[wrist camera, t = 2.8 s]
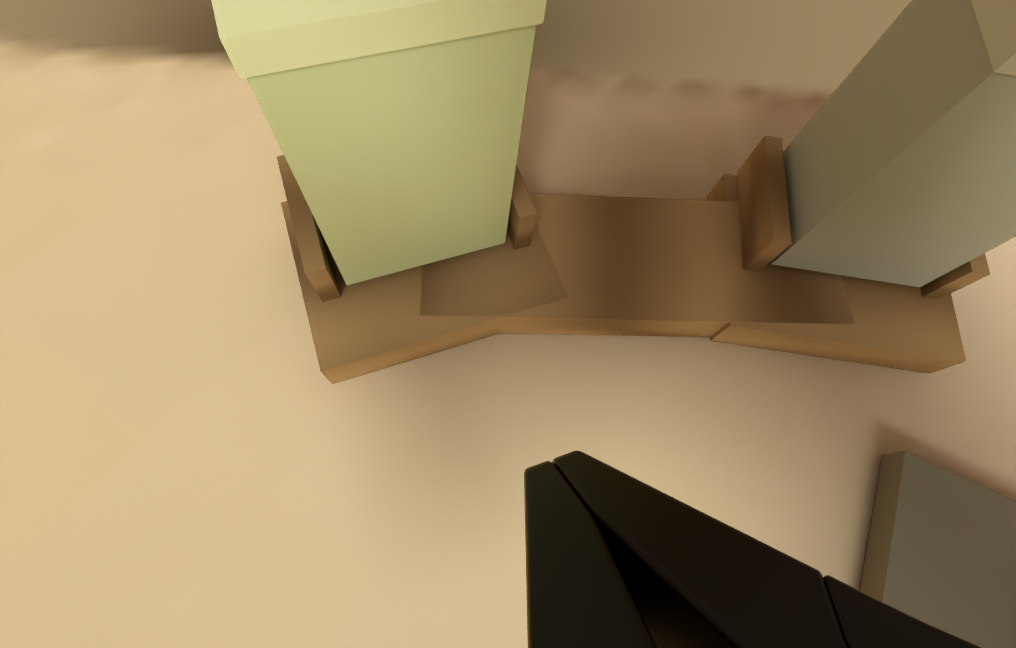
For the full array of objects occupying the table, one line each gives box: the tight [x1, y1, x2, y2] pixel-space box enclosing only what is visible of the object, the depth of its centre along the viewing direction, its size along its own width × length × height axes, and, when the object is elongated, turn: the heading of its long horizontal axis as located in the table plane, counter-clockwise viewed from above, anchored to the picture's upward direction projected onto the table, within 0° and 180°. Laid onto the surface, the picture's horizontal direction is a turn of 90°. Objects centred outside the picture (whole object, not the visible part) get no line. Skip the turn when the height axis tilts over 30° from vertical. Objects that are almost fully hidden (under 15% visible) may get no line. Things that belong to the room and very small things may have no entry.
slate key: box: [771, 0, 1016, 287], centre depth 15 cm, size 4×6×9 cm
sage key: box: [212, 0, 547, 285], centre depth 14 cm, size 4×6×9 cm
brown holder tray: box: [277, 136, 990, 384], centre depth 18 cm, size 25×9×4 cm, turn 92°
